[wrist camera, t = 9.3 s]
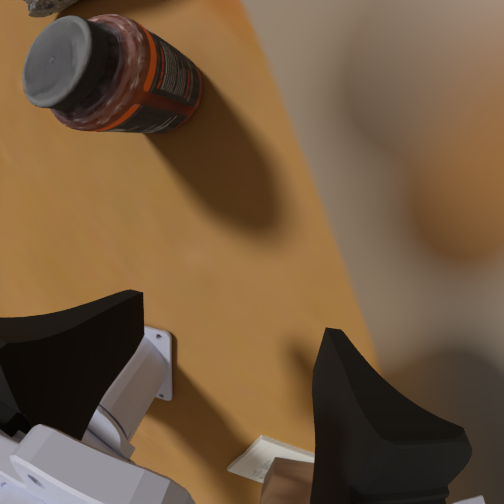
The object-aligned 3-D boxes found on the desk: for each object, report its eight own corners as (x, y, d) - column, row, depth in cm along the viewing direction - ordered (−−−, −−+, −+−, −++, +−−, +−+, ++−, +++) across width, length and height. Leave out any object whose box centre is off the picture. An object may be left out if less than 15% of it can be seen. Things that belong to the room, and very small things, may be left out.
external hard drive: (316, 489, 31) (228, 462, 31) (357, 461, 28) (262, 429, 28) (315, 499, 30) (225, 472, 29) (359, 471, 27) (260, 441, 26)
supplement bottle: (181, 38, 18) (90, -32, 7) (220, 104, 19) (140, 61, 8) (114, 86, 19) (-2, 62, 9) (148, 150, 20) (30, 161, 10)
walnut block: (263, 478, 29) (256, 520, 23) (275, 457, 27) (268, 504, 22) (306, 484, 28) (303, 526, 23) (321, 463, 27) (320, 510, 21)
